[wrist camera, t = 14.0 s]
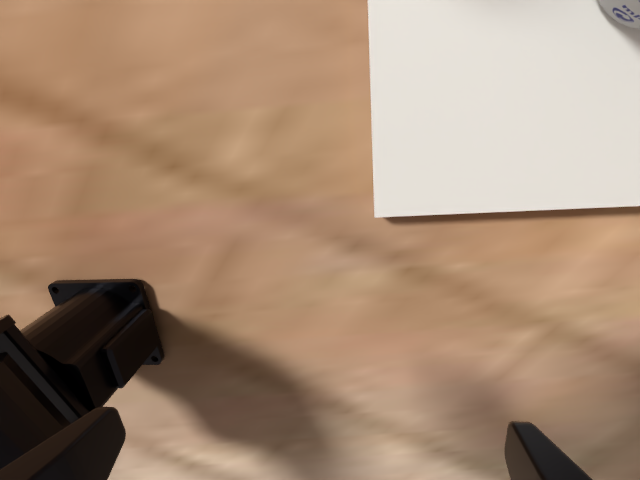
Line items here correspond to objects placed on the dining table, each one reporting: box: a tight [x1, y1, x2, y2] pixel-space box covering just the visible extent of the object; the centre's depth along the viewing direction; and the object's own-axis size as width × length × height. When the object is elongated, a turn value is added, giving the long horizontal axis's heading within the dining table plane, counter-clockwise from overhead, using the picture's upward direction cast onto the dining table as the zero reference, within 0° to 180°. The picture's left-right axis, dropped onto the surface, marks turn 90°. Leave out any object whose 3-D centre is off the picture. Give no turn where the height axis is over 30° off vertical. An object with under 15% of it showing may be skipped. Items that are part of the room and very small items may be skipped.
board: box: [368, 0, 640, 217], centre depth 15 cm, size 16×14×1 cm
